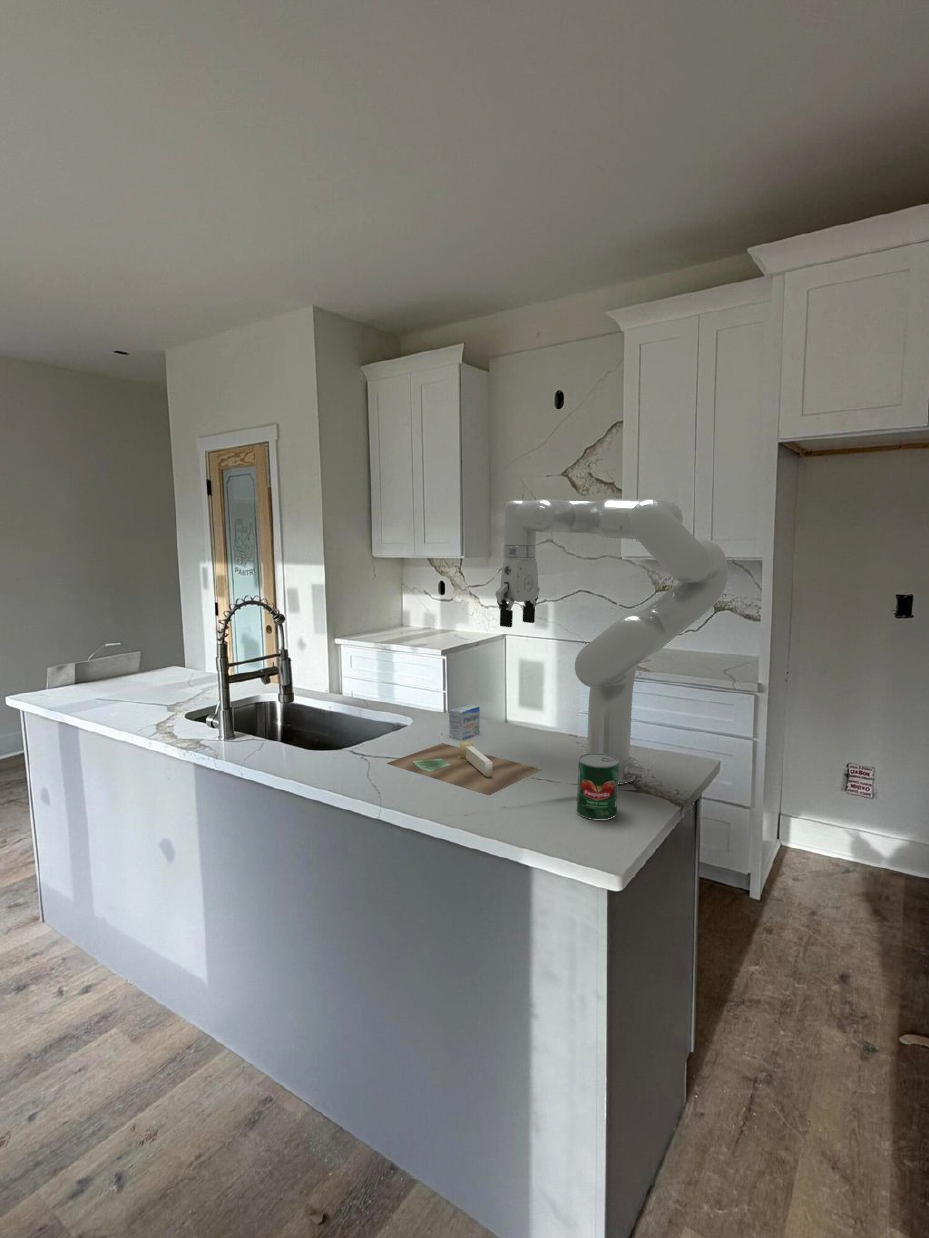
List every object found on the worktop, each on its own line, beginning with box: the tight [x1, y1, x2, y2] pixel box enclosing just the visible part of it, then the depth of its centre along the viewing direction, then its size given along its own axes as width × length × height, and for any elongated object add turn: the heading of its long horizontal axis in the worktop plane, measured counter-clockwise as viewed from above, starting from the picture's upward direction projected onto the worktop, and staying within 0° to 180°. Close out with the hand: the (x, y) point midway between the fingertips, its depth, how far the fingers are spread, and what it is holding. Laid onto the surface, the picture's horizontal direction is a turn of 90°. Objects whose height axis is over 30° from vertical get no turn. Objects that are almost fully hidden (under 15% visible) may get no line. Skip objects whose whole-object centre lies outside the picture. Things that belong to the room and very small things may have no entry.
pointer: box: [459, 740, 492, 777], centre depth 159 cm, size 16×3×3 cm, turn 21°
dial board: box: [386, 742, 542, 796], centre depth 159 cm, size 30×20×1 cm, turn 51°
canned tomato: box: [576, 753, 619, 819], centre depth 136 cm, size 8×8×11 cm
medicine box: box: [448, 704, 481, 741], centre depth 183 cm, size 8×4×9 cm, turn 143°
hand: (517, 624), depth 166 cm, fingers open, 9 cm apart
